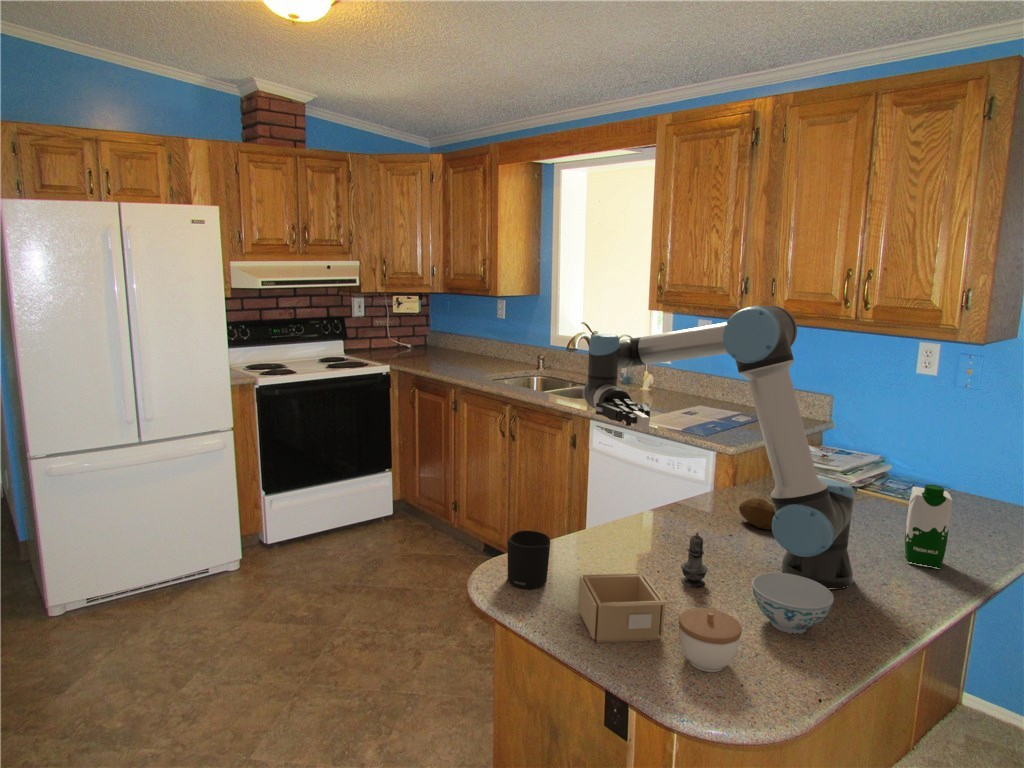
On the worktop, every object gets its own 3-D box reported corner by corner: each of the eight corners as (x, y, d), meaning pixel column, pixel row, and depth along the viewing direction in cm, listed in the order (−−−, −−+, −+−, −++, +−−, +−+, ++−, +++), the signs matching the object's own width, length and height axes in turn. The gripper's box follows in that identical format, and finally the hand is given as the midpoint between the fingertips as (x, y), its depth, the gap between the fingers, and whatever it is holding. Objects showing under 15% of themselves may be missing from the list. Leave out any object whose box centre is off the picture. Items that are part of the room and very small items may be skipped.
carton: (640, 607, 141) (643, 573, 140) (663, 641, 128) (666, 604, 127) (576, 609, 139) (578, 574, 138) (593, 644, 126) (595, 606, 125)
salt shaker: (692, 590, 149) (696, 538, 147) (674, 579, 155) (678, 529, 153) (712, 585, 152) (716, 534, 150) (693, 575, 157) (698, 525, 155)
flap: (658, 600, 127) (675, 601, 119) (659, 603, 127) (675, 604, 119) (601, 602, 126) (614, 603, 118) (602, 605, 125) (614, 606, 117)
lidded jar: (671, 671, 119) (675, 621, 117) (679, 641, 129) (683, 594, 127) (736, 686, 115) (741, 635, 113) (739, 654, 125) (743, 606, 123)
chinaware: (741, 604, 144) (744, 569, 143) (814, 610, 143) (818, 575, 141) (759, 641, 129) (763, 604, 128) (841, 648, 128) (845, 610, 127)
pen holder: (498, 576, 153) (499, 534, 151) (534, 568, 157) (536, 527, 156) (519, 594, 145) (521, 550, 143) (556, 585, 149) (558, 542, 148)
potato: (773, 536, 183) (776, 508, 182) (730, 523, 192) (732, 496, 190) (786, 528, 189) (788, 502, 187) (743, 516, 197) (746, 490, 196)
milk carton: (903, 564, 167) (914, 486, 164) (900, 551, 175) (910, 477, 172) (945, 572, 164) (957, 492, 160) (940, 558, 172) (951, 482, 169)
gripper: (637, 417, 167) (674, 440, 143) (586, 417, 165) (614, 441, 142) (639, 387, 165) (676, 405, 142) (587, 387, 163) (616, 406, 140)
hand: (645, 423), depth 142 cm, fingers closed
